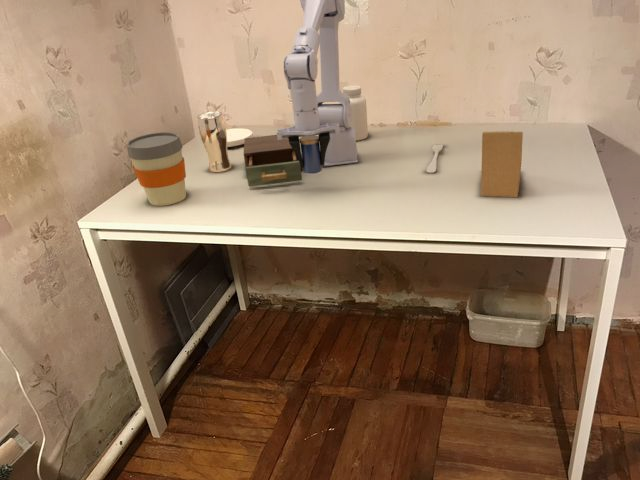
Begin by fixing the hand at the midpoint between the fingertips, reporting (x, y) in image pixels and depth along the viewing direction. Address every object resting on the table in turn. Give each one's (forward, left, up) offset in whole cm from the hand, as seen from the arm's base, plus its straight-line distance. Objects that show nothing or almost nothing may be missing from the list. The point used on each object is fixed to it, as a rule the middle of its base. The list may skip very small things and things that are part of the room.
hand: (312, 165), depth 139 cm
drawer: (+10, -10, -6) cm, 15 cm away
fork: (-34, -12, -7) cm, 36 cm away
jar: (0, 0, -1) cm, 1 cm away
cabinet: (+9, -22, -6) cm, 24 cm away
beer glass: (+24, -25, -7) cm, 35 cm away
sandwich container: (-44, +10, -7) cm, 45 cm away
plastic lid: (+22, -48, -7) cm, 53 cm away
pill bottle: (-16, -39, -7) cm, 42 cm away
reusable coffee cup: (+36, -7, -7) cm, 38 cm away
